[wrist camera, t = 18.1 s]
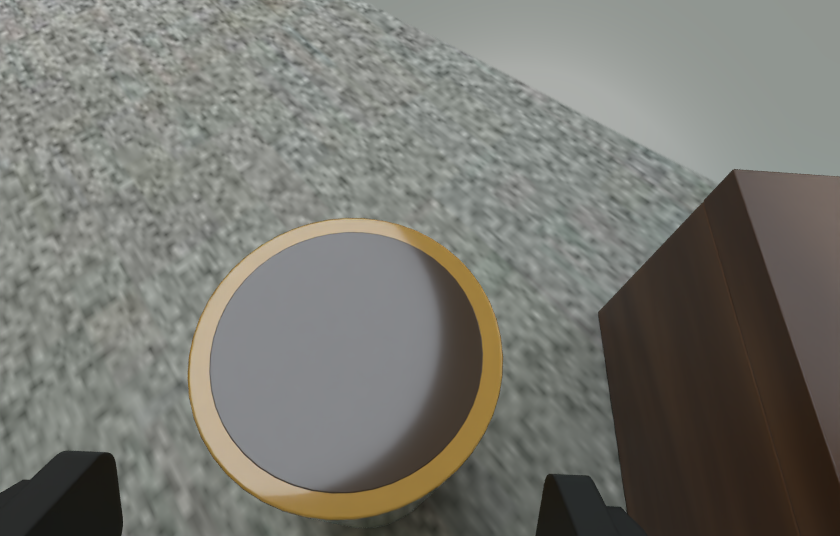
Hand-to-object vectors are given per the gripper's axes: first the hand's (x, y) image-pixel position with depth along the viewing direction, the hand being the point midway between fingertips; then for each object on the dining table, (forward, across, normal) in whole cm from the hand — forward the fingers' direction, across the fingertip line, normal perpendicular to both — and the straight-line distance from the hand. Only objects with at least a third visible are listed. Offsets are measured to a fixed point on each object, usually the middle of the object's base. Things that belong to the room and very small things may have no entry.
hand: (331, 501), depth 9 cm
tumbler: (+9, 0, +5) cm, 10 cm away
